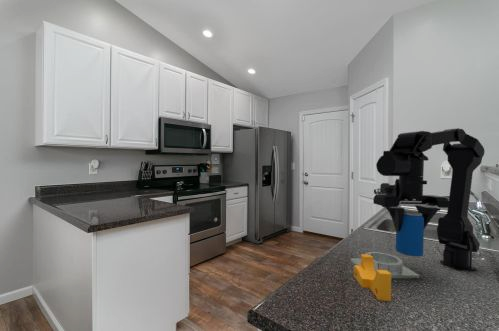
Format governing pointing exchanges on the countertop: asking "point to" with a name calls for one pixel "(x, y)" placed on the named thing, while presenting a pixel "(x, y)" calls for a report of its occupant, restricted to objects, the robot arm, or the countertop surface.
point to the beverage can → (411, 235)
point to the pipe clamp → (373, 278)
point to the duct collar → (388, 265)
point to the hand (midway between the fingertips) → (409, 231)
